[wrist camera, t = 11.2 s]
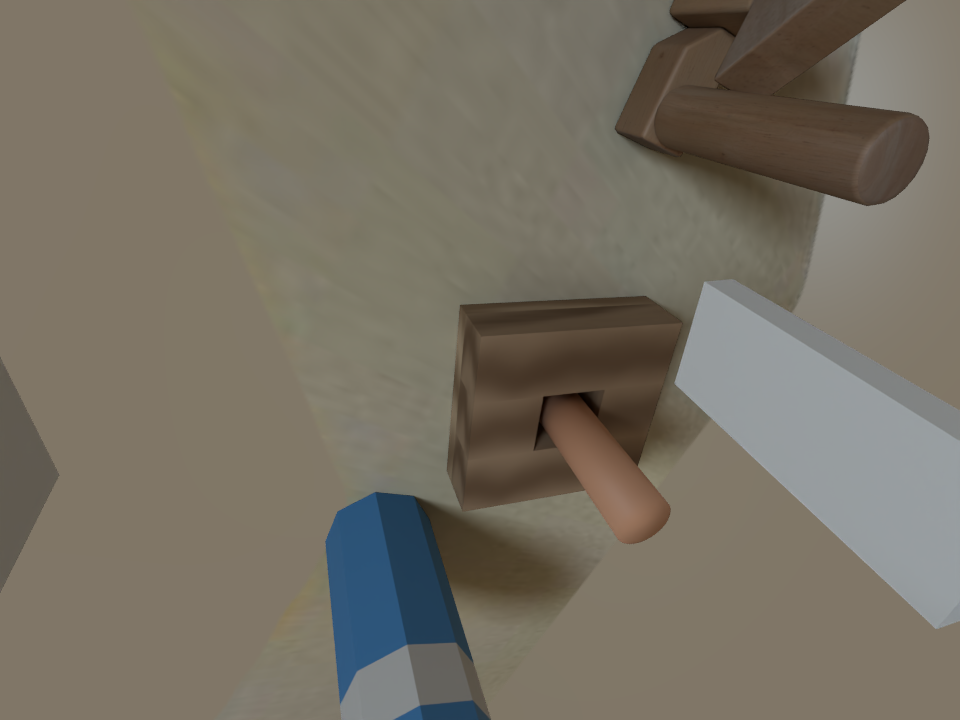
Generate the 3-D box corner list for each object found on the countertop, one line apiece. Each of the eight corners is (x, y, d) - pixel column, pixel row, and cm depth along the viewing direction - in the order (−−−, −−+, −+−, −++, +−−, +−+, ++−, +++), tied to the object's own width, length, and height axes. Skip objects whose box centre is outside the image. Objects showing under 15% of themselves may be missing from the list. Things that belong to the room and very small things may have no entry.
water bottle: (373, 475, 45) (452, 843, 24) (449, 514, 50) (565, 844, 30) (302, 546, 46) (320, 948, 26) (383, 576, 51) (450, 930, 31)
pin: (532, 378, 43) (624, 504, 31) (574, 374, 44) (677, 494, 32) (525, 417, 44) (610, 548, 33) (566, 412, 46) (661, 537, 34)
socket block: (460, 305, 39) (481, 336, 35) (645, 296, 44) (682, 322, 40) (446, 470, 47) (462, 511, 43) (604, 446, 52) (632, 482, 48)
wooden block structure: (735, -22, 33) (1092, -64, 19) (650, 149, 37) (887, 223, 23) (694, -53, 32) (1051, -127, 17) (610, 129, 36) (838, 195, 21)
